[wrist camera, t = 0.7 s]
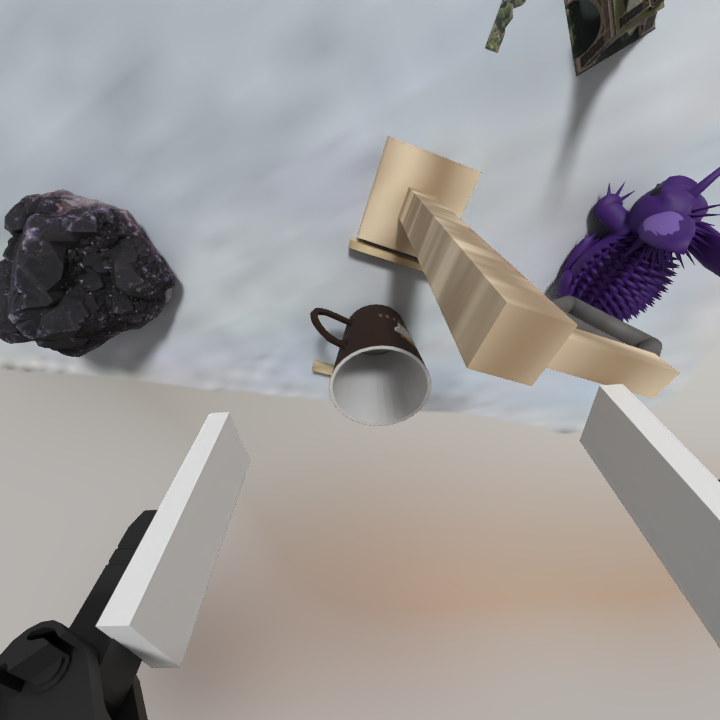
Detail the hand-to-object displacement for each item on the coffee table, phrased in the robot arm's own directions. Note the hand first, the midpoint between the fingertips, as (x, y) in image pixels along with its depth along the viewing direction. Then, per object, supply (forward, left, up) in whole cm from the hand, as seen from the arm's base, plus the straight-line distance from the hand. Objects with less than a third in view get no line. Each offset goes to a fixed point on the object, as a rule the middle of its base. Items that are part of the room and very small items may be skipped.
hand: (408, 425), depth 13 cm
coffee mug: (+2, -8, -24) cm, 25 cm away
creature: (+21, +7, -24) cm, 33 cm away
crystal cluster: (-24, -10, -24) cm, 35 cm away
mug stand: (+2, -8, -24) cm, 25 cm away
